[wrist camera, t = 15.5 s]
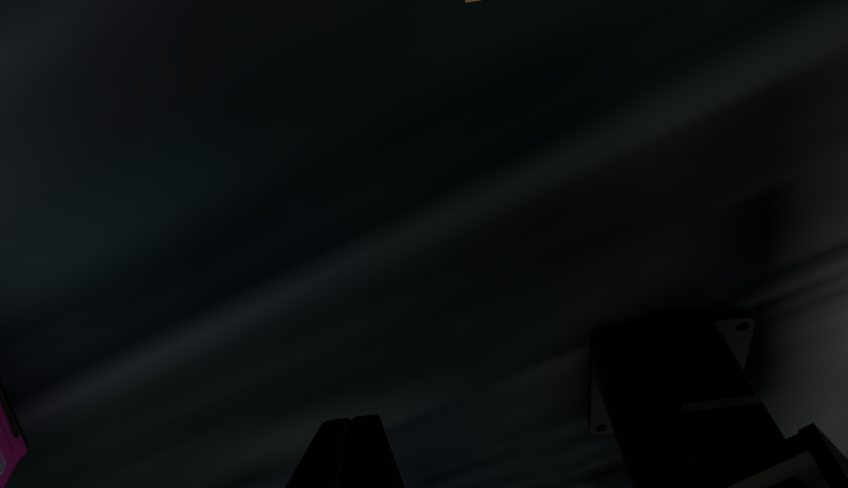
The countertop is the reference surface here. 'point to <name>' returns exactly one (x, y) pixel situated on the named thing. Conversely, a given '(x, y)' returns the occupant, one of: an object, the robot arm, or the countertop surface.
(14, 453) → the candy bar box
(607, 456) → the countertop surface
